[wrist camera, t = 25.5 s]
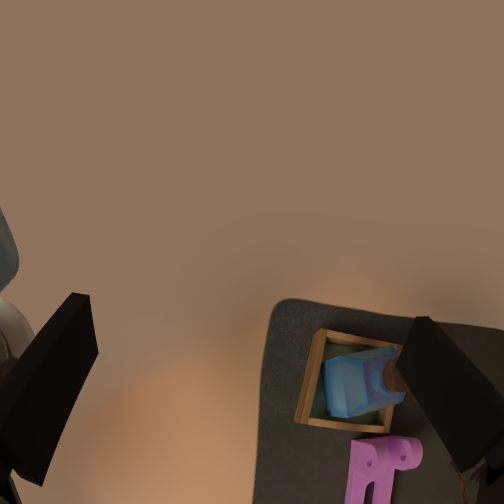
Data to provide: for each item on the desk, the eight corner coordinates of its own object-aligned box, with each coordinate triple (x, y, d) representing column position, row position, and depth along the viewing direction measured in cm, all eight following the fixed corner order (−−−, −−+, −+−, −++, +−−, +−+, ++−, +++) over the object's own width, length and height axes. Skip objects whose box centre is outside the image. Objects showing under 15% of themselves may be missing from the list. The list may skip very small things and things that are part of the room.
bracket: (351, 439, 29) (378, 446, 22) (392, 435, 29) (423, 438, 23) (340, 530, 23) (362, 551, 16) (380, 522, 23) (407, 539, 17)
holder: (293, 421, 30) (300, 423, 27) (313, 334, 34) (321, 327, 32) (376, 431, 29) (389, 433, 26) (390, 350, 34) (403, 345, 31)
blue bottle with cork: (319, 363, 32) (363, 344, 21) (367, 354, 33) (424, 330, 22) (327, 415, 29) (375, 420, 19) (375, 403, 30) (436, 398, 19)
